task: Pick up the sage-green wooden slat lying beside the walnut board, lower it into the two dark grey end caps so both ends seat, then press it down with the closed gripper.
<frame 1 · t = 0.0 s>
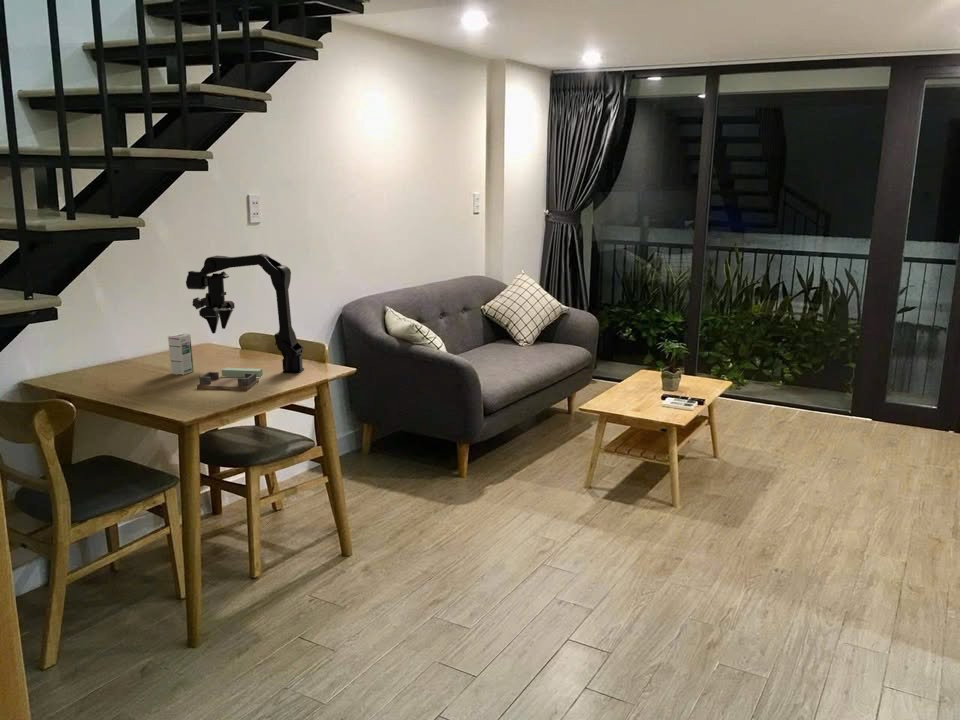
hand: (218, 330, 303), 15 cm above the table, tool pointing down, fingers open, 9 cm apart
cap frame: (228, 385, 284), on the table
slat: (242, 377, 296), on the table
syrup box: (182, 373, 300), on the table
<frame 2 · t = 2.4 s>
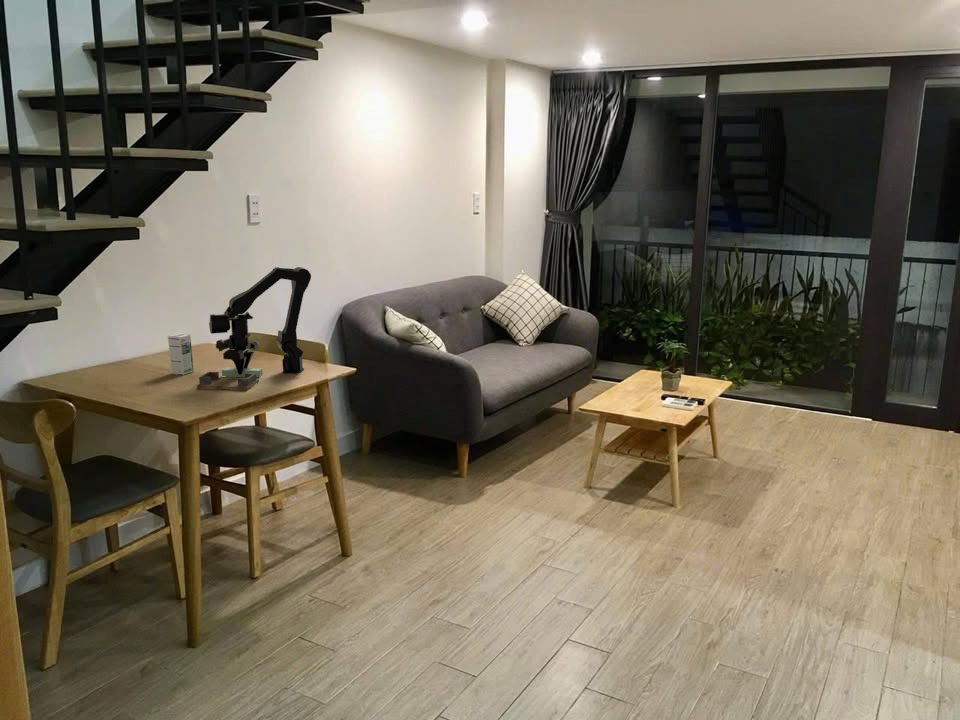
hand: (242, 373, 296), 1 cm above the table, tool pointing down, fingers closed on slat, 4 cm apart
slat: (242, 377, 296), on the table, touching gripper
everything else where it was.
when the fingers open (4 cm above the table, at t = 6.5 s): slat drops 1 cm, resting on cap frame.
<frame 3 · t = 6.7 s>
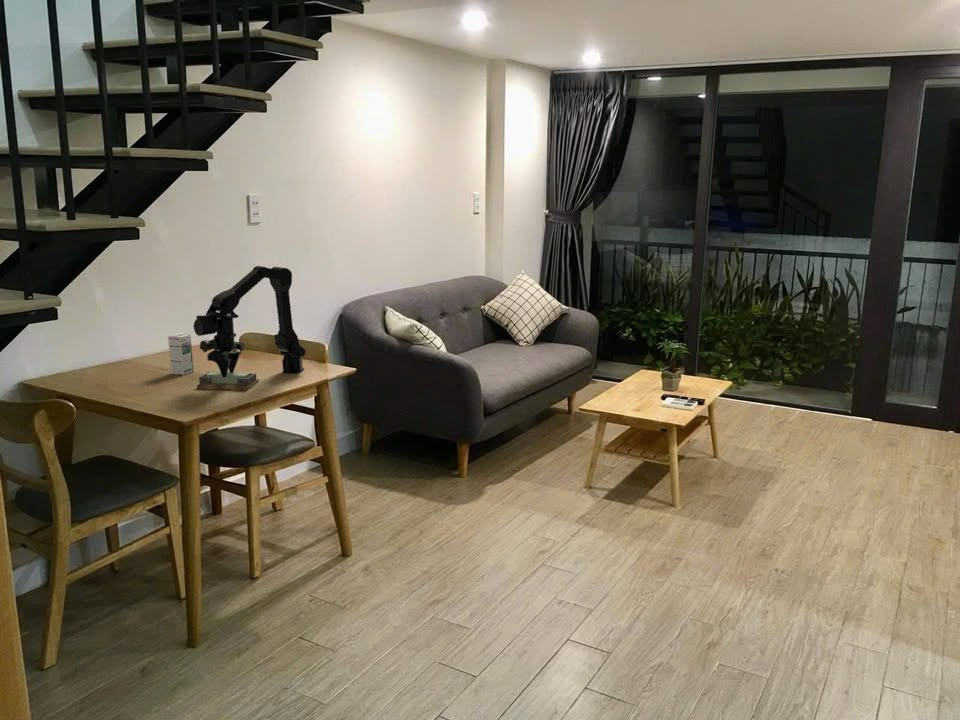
hand: (227, 375, 283), 4 cm above the table, tool pointing down, fingers open, 6 cm apart
slat: (228, 382, 283), point 1 cm above the table, touching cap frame
everything else where it was.
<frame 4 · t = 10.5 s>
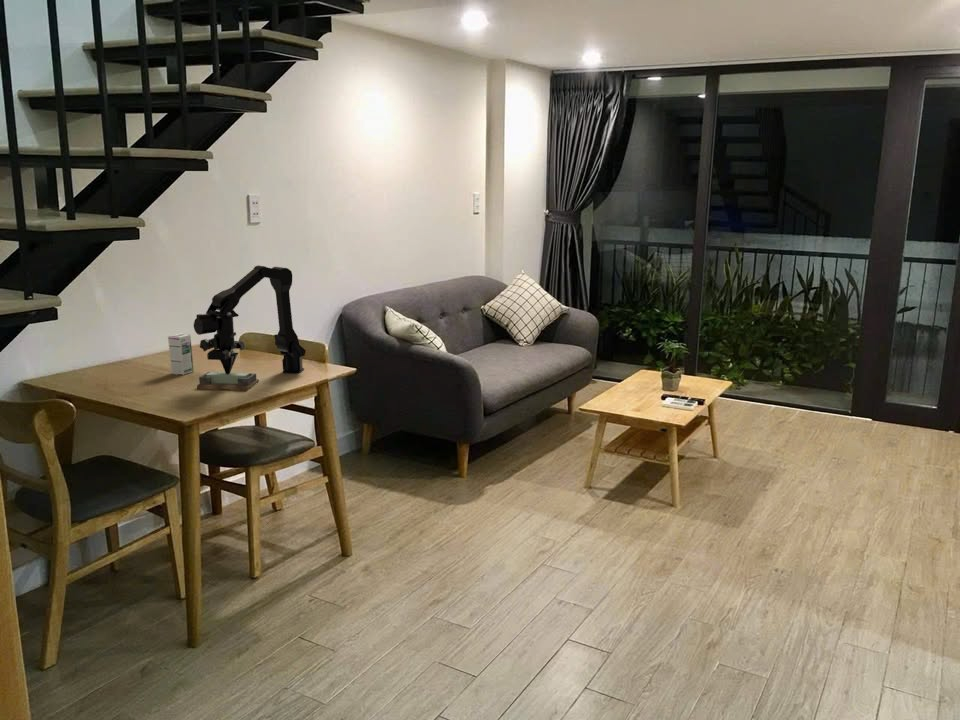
hand: (227, 374, 283), 4 cm above the table, tool pointing down, fingers closed, pressing on slat
slat: (228, 382, 283), point 1 cm above the table, touching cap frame, gripper
everything else where it was.
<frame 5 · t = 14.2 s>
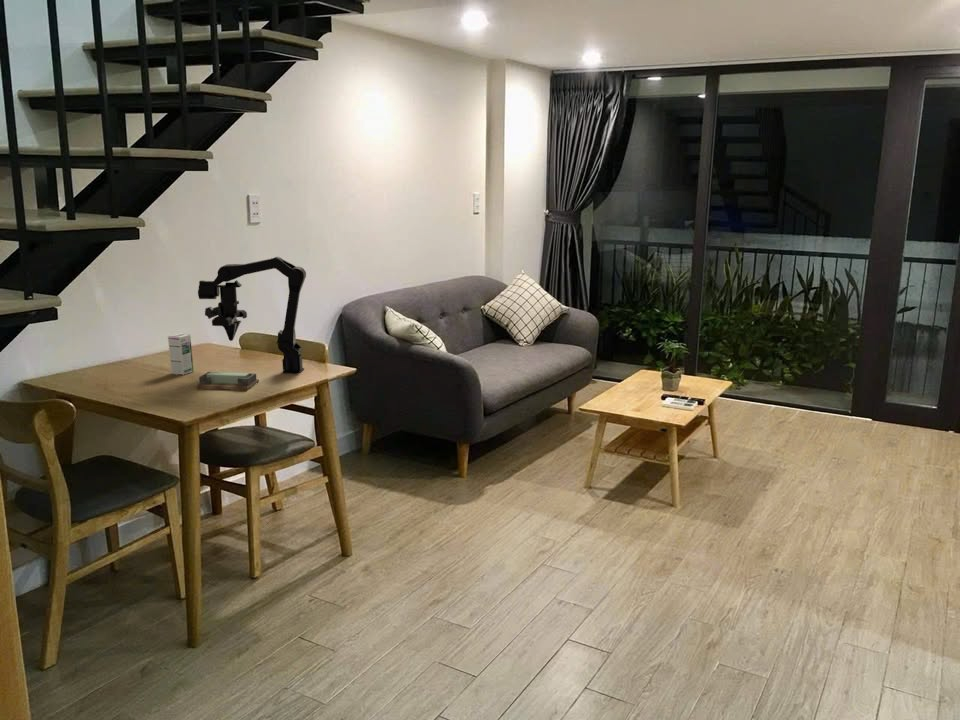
hand: (231, 340, 300), 12 cm above the table, tool pointing down, fingers closed
slat: (228, 382, 283), point 1 cm above the table, touching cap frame
everything else where it was.
at the end: slat 0.0 cm off-centre on the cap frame, point 1.2 cm above the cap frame's base; slat tilted 0°; the gripper is holding nothing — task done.
